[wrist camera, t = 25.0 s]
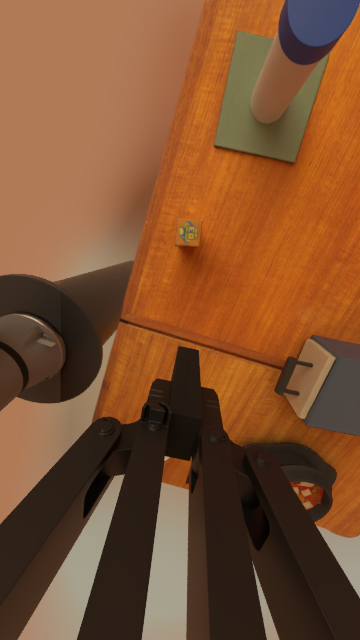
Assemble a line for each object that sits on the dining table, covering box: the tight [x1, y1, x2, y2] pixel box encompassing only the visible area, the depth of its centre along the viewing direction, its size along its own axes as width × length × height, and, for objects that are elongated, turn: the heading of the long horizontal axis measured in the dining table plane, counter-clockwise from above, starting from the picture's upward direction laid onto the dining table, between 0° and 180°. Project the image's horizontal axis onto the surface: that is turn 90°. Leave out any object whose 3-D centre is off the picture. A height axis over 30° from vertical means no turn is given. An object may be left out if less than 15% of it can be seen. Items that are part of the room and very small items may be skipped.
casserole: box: [243, 443, 337, 522], centre depth 48 cm, size 25×19×8 cm
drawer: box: [274, 339, 336, 419], centre depth 39 cm, size 19×12×7 cm, turn 79°
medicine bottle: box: [250, 0, 360, 124], centre depth 23 cm, size 6×6×13 cm
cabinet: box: [302, 335, 360, 436], centre depth 39 cm, size 16×14×9 cm
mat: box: [214, 31, 330, 163], centre depth 29 cm, size 12×12×1 cm
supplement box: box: [175, 218, 203, 247], centre depth 31 cm, size 3×3×10 cm
